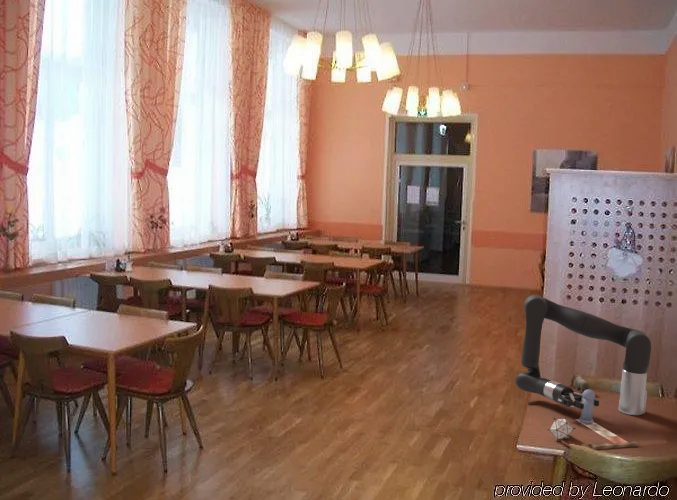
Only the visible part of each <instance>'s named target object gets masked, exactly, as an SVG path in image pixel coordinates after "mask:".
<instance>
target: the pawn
mask: <svg viewBox="0 0 677 500" xmlns="http://www.w3.org/2000/svg"><path fill="white" fill-rule="evenodd" d="M594 399H596V393H595V391H594V390H593V389H590V388H589V389H587V390H586V389H584V391H583V400H582V401H583V404H584V409H581V415H580V417H579V419H580V420H579V421H580V422H581V423H580V422H579V421H578V422H579V423H580V424H582V423H584V424H592V425H594V424H593V422H594V418H593V416H594Z"/></svg>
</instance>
